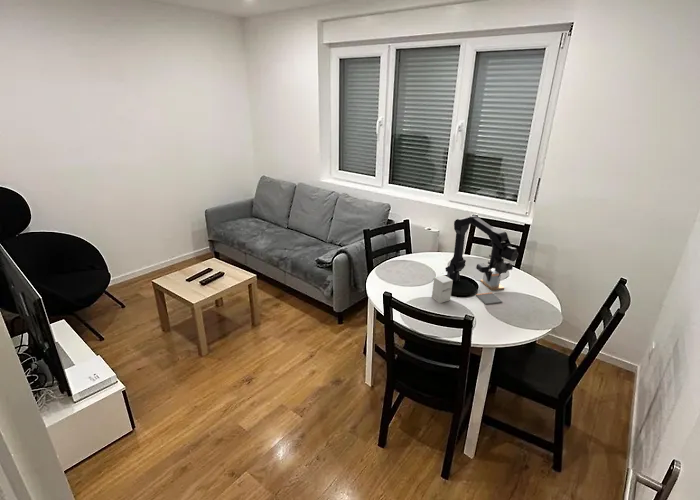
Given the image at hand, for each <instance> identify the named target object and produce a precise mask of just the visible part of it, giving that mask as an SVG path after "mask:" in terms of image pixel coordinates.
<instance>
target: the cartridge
mask: <svg viewBox="0 0 700 500" xmlns="http://www.w3.org/2000/svg"><path fill="white" fill-rule="evenodd" d="M491 271H492V272H493V273H491V277H490V281H489V282H488V280H487V281H486V282H487V283H488V284H489V285H490V286H491V285H497V282H498V276H499V273H498V272H497V271H495V269H494V270H491Z"/></svg>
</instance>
